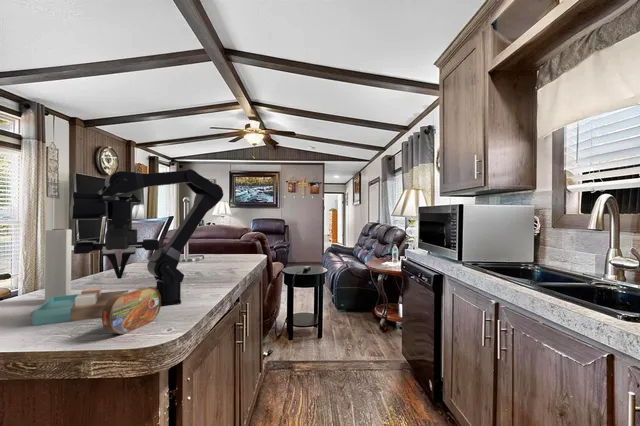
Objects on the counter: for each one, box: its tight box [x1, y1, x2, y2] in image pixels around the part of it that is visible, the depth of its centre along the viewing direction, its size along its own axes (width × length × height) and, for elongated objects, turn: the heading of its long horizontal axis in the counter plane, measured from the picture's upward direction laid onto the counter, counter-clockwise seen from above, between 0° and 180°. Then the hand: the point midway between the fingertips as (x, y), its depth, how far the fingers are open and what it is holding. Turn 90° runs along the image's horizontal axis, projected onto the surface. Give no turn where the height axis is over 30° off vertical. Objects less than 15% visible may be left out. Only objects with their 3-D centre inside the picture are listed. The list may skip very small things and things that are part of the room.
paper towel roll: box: [44, 228, 73, 302], centre depth 95 cm, size 7×6×21 cm
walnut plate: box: [69, 289, 129, 322], centre depth 86 cm, size 11×16×3 cm
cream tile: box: [75, 293, 97, 306], centre depth 81 cm, size 4×4×2 cm
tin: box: [101, 286, 161, 335], centre depth 72 cm, size 15×3×8 cm, turn 168°
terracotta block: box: [80, 286, 102, 297], centre depth 88 cm, size 4×4×2 cm
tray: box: [31, 293, 81, 327], centre depth 82 cm, size 7×16×3 cm, turn 28°
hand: (119, 278), depth 84 cm, fingers closed
